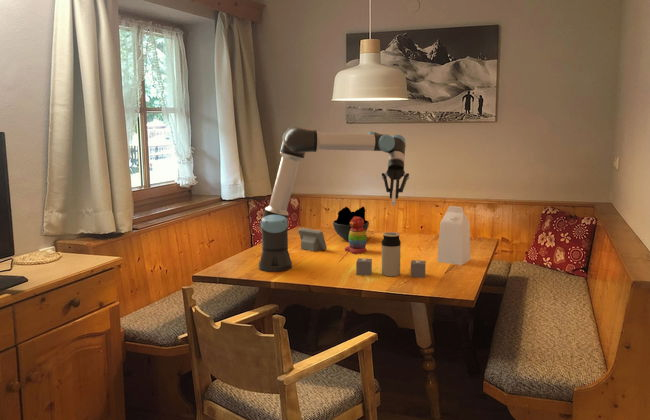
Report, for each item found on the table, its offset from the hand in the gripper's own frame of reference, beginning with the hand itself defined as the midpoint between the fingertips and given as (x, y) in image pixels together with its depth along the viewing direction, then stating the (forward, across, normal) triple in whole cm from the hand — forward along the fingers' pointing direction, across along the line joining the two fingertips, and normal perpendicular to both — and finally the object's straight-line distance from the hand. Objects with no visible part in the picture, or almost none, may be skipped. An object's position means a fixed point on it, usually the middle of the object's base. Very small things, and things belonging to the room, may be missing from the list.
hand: (393, 203), depth 262 cm
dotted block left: (+29, +12, -12) cm, 34 cm away
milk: (+9, -28, -33) cm, 44 cm away
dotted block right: (+29, -12, -12) cm, 34 cm away
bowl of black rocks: (-20, +28, -62) cm, 70 cm away
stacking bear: (0, +20, -42) cm, 47 cm away
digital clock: (-1, +44, -43) cm, 61 cm away
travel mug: (+29, 0, -12) cm, 32 cm away
